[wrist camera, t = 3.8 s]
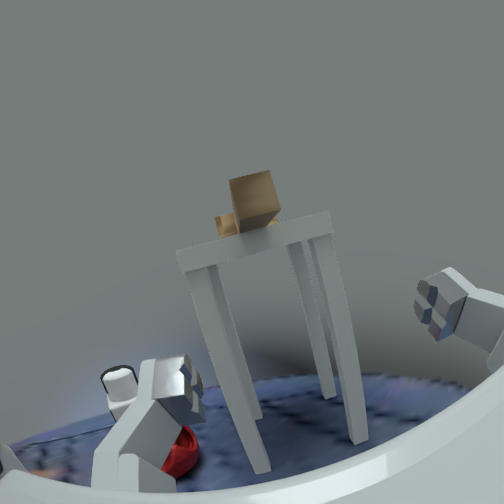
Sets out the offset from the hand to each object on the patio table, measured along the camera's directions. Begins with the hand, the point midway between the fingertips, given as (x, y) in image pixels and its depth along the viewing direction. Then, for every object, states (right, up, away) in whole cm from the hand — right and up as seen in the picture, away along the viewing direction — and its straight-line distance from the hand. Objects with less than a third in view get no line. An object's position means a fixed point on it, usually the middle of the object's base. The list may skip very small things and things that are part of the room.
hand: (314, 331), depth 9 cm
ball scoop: (-2, +4, +17) cm, 18 cm away
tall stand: (+5, -21, +23) cm, 31 cm away
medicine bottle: (-21, -28, +30) cm, 46 cm away
